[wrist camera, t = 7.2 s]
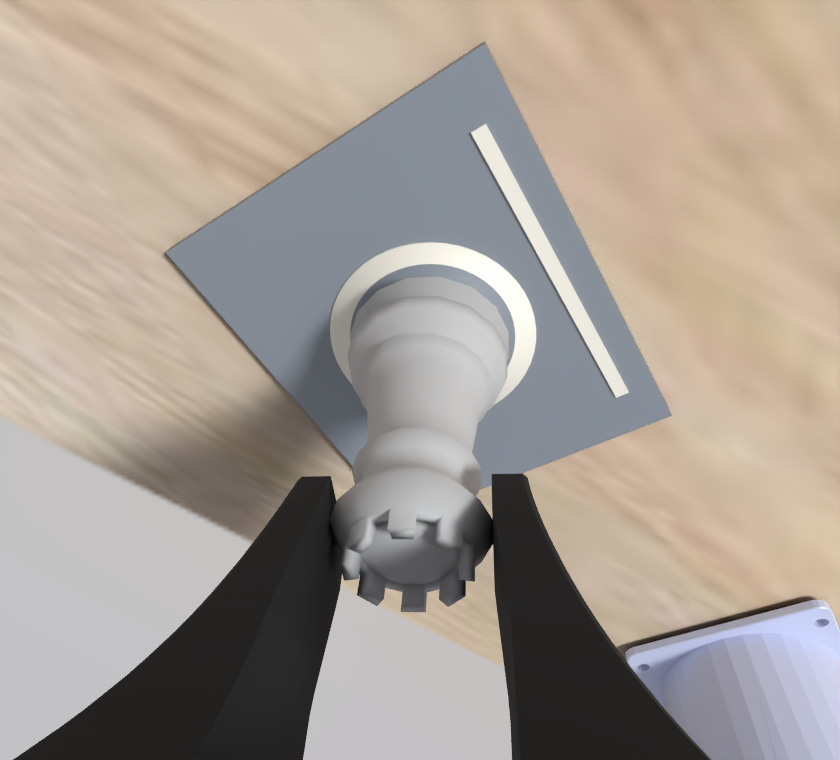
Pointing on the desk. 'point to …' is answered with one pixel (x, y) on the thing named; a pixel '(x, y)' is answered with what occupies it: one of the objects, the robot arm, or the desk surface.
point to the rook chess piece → (420, 440)
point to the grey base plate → (431, 269)
